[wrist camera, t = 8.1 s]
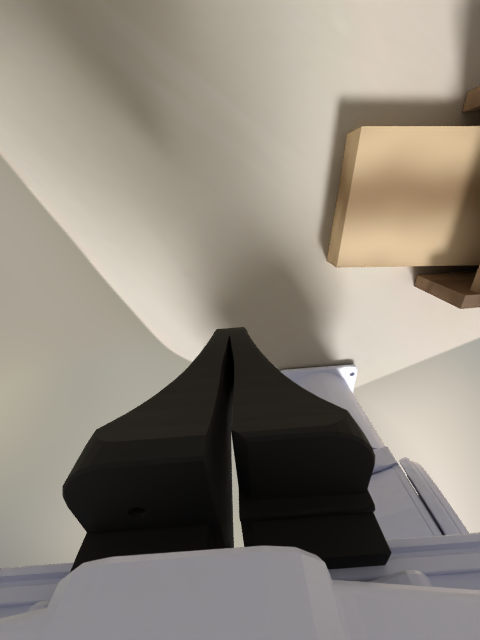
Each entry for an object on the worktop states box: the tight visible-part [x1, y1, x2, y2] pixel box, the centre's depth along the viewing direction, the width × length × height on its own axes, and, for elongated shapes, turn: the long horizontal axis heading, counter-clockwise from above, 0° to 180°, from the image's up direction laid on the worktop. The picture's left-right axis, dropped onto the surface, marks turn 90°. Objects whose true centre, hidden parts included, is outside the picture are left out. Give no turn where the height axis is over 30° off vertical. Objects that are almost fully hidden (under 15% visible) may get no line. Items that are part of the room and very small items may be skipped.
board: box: [327, 126, 480, 267], centre depth 18 cm, size 8×13×2 cm, turn 90°
